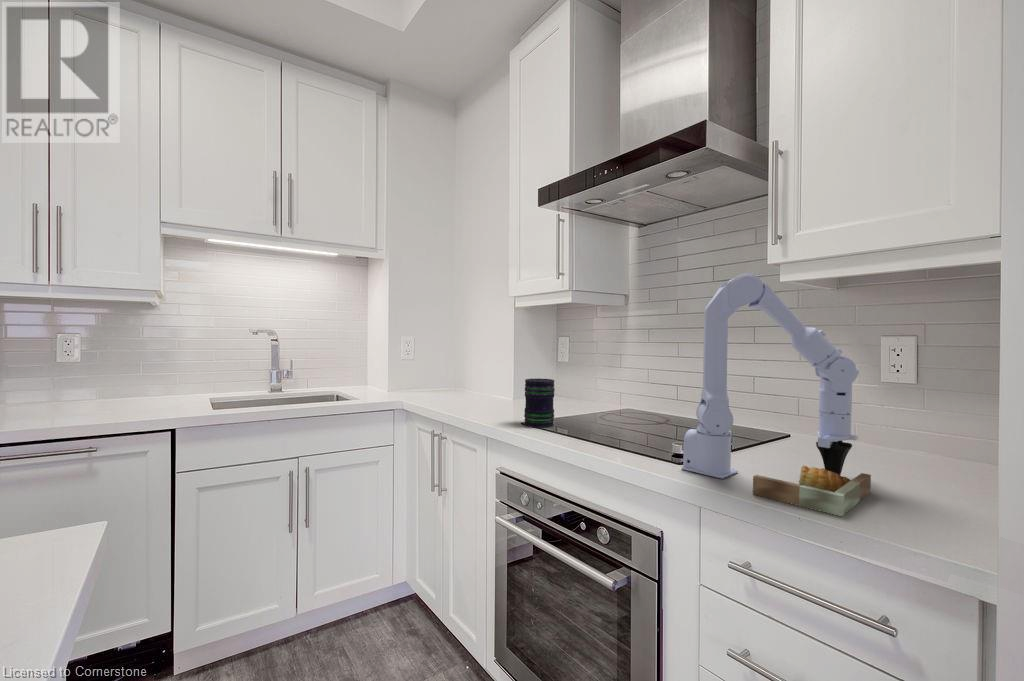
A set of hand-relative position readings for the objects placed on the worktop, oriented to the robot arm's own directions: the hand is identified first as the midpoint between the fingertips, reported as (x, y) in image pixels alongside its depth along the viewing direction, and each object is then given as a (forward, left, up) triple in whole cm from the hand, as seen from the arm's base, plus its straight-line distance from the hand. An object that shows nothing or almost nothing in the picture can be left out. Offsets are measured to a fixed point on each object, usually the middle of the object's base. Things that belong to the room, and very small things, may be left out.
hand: (833, 476), depth 101 cm
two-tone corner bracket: (0, -12, -1) cm, 12 cm away
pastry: (-1, -6, -1) cm, 6 cm away
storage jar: (-81, -7, -1) cm, 82 cm away
